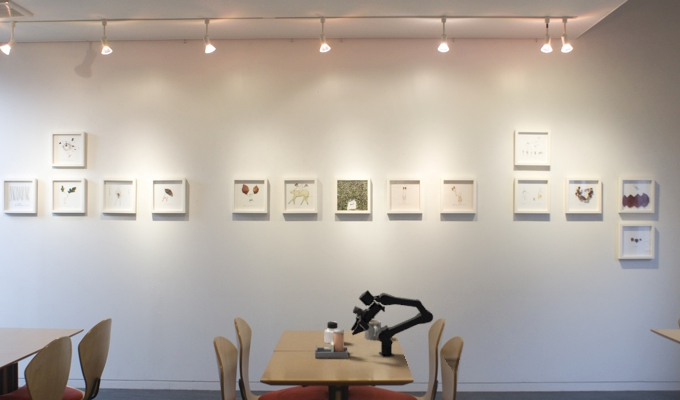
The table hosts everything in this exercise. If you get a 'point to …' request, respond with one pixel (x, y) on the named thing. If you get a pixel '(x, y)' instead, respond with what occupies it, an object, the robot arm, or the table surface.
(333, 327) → the medicine bottle
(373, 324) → the coffee mug
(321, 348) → the tray
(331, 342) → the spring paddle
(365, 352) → the table surface
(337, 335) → the dome-lidded peach canister
